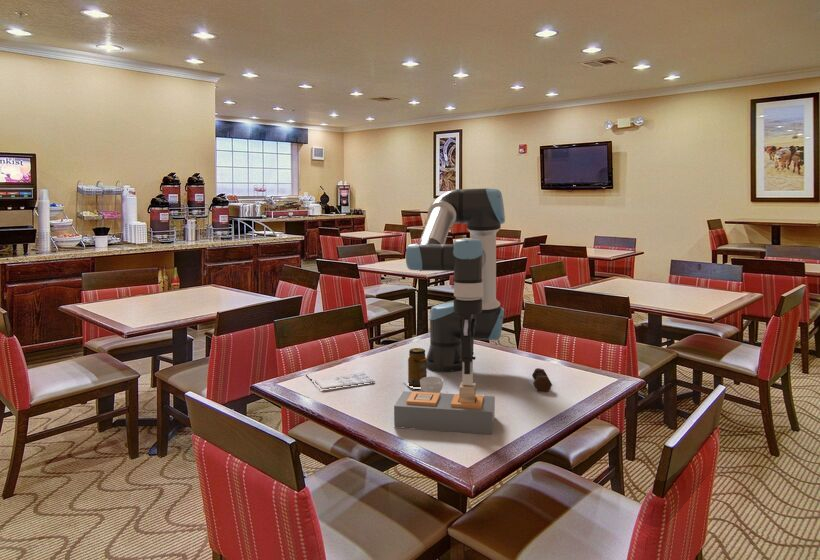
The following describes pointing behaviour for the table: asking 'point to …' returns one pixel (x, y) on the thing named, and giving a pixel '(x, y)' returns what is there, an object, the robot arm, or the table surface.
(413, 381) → the condiment
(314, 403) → the table surface
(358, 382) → the bicycle print napkin
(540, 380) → the hex dumbbell
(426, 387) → the teacup
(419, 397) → the peg
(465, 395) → the peg
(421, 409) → the block
